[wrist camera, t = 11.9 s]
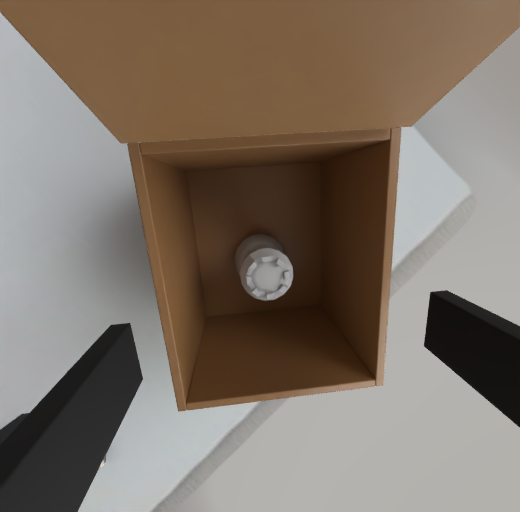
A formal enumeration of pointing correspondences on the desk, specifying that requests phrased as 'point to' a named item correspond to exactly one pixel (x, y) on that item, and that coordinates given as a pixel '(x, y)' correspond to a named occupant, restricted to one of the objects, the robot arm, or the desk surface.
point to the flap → (260, 60)
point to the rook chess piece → (263, 267)
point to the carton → (297, 250)
